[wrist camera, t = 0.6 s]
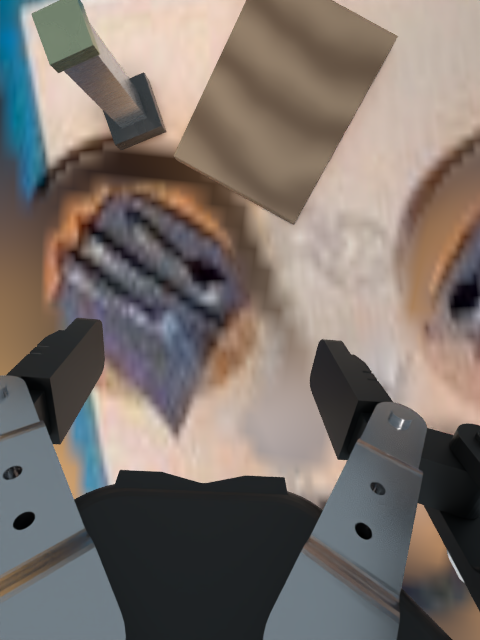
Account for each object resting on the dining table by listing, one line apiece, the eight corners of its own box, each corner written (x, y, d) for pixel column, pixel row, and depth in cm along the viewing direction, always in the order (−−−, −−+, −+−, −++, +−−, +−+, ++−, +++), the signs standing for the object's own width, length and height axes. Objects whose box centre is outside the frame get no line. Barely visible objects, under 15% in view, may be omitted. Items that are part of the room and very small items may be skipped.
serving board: (264, -23, 33) (263, -37, 32) (391, 46, 33) (397, 36, 32) (177, 160, 37) (173, 155, 35) (293, 224, 36) (294, 222, 35)
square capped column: (103, 100, 36) (14, 5, 24) (149, 80, 36) (82, -28, 23) (121, 150, 37) (43, 83, 24) (166, 131, 36) (110, 53, 23)
